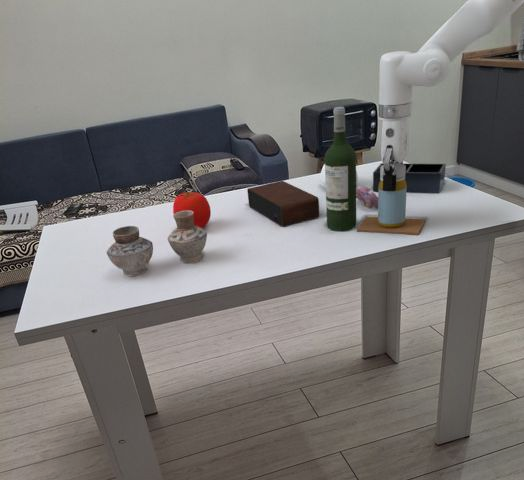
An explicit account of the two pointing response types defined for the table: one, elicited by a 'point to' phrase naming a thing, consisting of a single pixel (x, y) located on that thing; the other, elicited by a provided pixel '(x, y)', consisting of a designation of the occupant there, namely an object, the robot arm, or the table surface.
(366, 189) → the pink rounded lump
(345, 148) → the wine bottle
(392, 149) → the robot arm
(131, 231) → the pottery
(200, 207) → the tomato
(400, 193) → the bottle
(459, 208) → the table surface
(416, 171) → the divided storage box
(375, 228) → the cork mat
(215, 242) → the table surface
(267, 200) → the brown box
